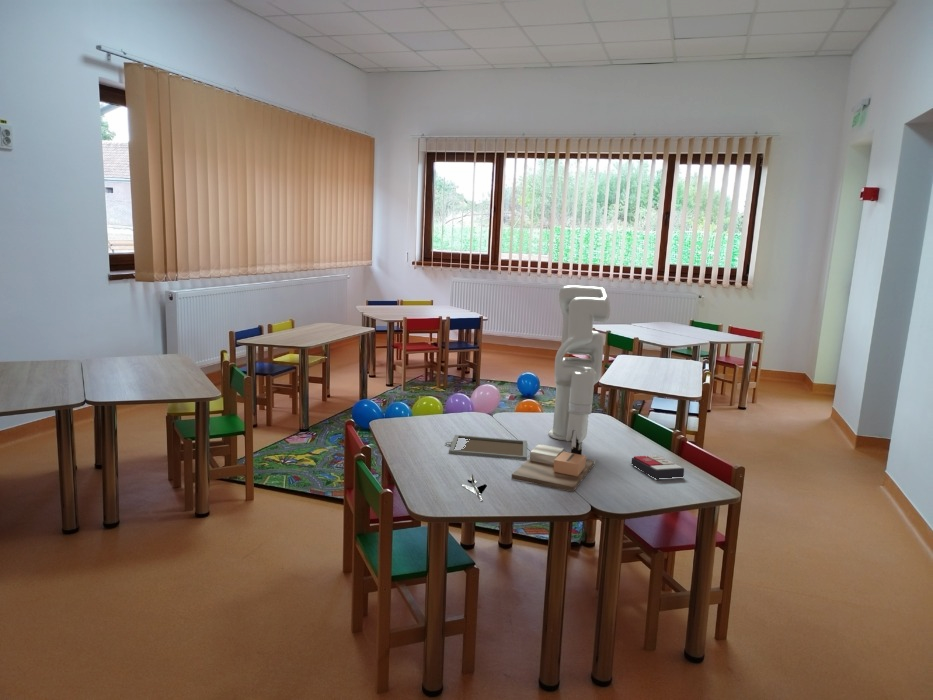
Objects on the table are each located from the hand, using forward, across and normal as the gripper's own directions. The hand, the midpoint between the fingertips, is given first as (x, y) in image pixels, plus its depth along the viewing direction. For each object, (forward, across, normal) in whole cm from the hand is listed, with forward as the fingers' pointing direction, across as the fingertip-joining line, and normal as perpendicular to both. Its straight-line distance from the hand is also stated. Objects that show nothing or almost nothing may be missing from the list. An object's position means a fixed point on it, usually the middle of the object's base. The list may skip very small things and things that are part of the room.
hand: (575, 460), depth 212 cm
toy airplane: (+4, +34, -22) cm, 41 cm away
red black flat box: (+3, -13, +25) cm, 28 cm away
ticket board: (+3, +6, -5) cm, 8 cm away
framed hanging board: (+4, -3, -34) cm, 34 cm away
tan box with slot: (+1, +7, 0) cm, 7 cm away
